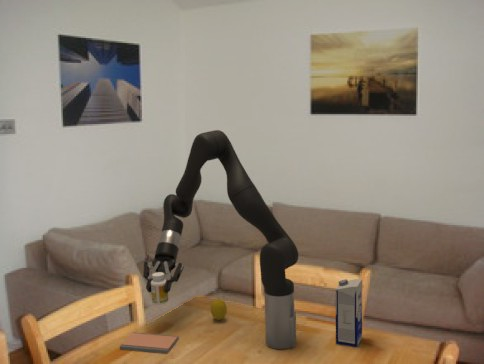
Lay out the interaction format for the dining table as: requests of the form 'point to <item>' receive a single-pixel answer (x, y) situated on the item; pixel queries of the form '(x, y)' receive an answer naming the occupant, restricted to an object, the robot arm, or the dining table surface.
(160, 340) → the band board
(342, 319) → the milk carton
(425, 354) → the dining table surface
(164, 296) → the supplement bottle
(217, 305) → the lemon
